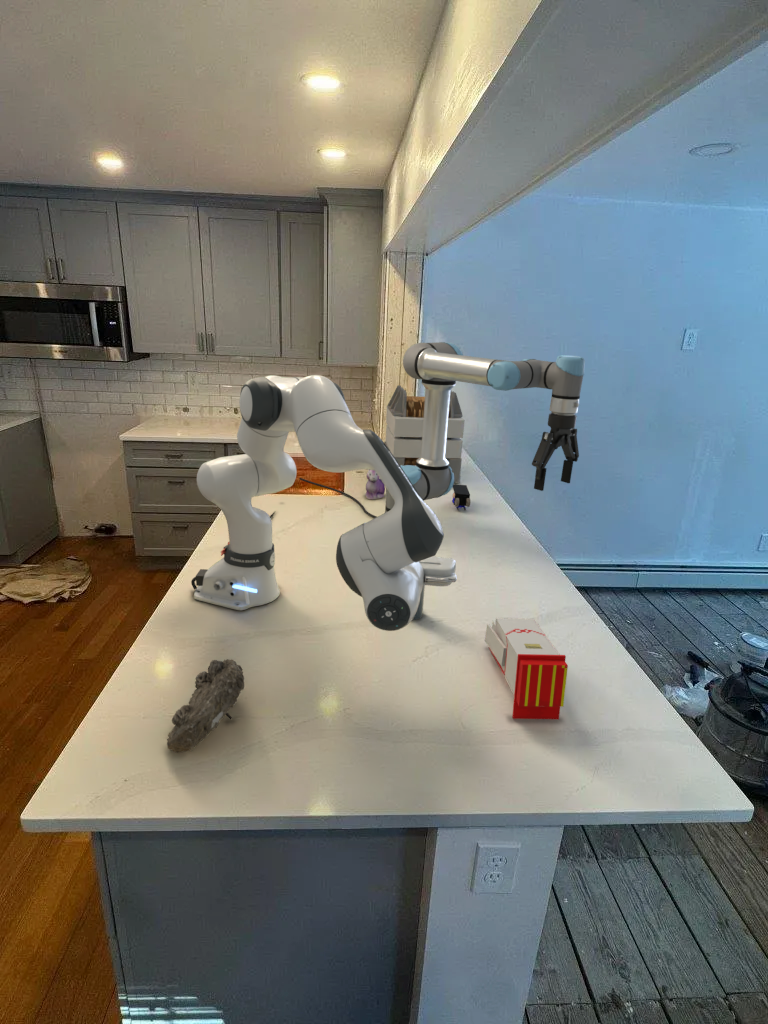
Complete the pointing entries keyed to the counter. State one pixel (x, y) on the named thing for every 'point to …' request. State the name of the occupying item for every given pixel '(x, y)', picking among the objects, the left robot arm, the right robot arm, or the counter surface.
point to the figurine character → (461, 496)
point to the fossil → (206, 705)
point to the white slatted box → (420, 430)
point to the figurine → (374, 486)
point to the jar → (420, 605)
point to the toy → (529, 667)
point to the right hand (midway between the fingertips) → (552, 485)
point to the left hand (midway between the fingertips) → (407, 555)
